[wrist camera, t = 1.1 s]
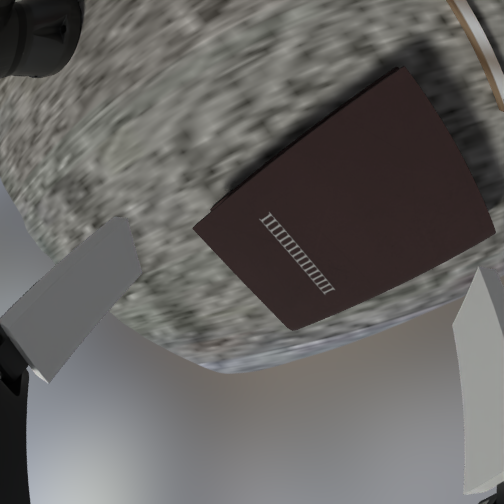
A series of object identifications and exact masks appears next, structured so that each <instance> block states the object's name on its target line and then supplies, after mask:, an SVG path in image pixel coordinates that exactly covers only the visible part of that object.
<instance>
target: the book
mask: <svg viewBox="0 0 504 504" xmlns="http://www.w3.org/2000/svg"><path fill="white" fill-rule="evenodd" d="M210 210H211V212H210V213H209V214H208V215H206V216H205V217H204V218H203V219H202V220H201V221H199V222H198V223H197V224H196V225H195V226H194V227H193V228H192V229H193V230H194V231H195V232H196V233H197V234H198V235H199V236H200V237H201V238H202V239H203V240H204V241H205V242H206V244H207V245H208V246H209V247H210V248H211V249H212V250H213V251H214V252H215V253H216V254H217V255H218V256H219V257H220V258H221V259H222V260H223V262H224V263H225V264H226V265H227V266H228V267H229V268H230V269H231V270H232V271H233V272H234V273H235V274H236V275H237V276H238V277H239V278H240V279H241V280H242V281H243V283H244V284H245V285H246V286H247V287H248V288H249V289H250V290H251V291H252V292H253V293H254V294H255V295H256V296H257V297H258V298H259V299H260V300H261V301H262V302H263V303H264V304H265V305H266V306H267V307H268V308H269V309H270V310H271V311H272V312H273V313H274V315H275V316H276V317H277V318H278V319H279V320H280V321H281V322H282V323H283V324H284V325H285V326H286V327H287V328H289V329H290V330H292V331H293V330H298V329H300V328H303V327H305V326H308V325H310V324H313V323H315V322H318V321H320V320H323V319H325V318H327V317H330V316H332V315H334V314H337V313H339V312H341V311H344V310H346V309H348V308H351V307H353V306H355V305H357V304H360V303H362V302H364V301H366V300H369V299H371V298H373V297H375V296H377V295H379V294H382V293H384V292H386V291H388V290H390V289H392V288H394V287H396V286H398V285H400V284H403V283H405V282H407V281H409V280H411V279H413V278H415V277H417V276H419V275H421V274H423V273H425V272H427V271H429V270H430V269H432V268H434V267H436V266H438V265H440V264H442V263H444V262H446V261H448V260H449V259H451V258H453V257H455V256H457V255H459V254H460V253H462V252H464V251H466V250H468V249H469V248H471V247H473V246H475V245H477V244H478V243H480V242H482V241H484V240H485V239H487V238H489V237H490V236H492V235H494V234H495V233H496V231H495V228H494V225H493V222H492V220H491V217H490V215H489V212H488V210H487V208H486V205H485V203H484V200H483V198H482V196H481V194H480V191H479V189H478V187H477V185H476V183H475V181H474V179H473V177H472V174H471V172H470V170H469V168H468V166H467V164H466V162H465V161H464V159H463V157H462V155H461V153H460V151H459V149H458V147H457V146H456V144H455V142H454V140H453V138H452V137H451V135H450V133H449V132H448V130H447V128H446V126H445V125H444V123H443V122H442V120H441V118H440V117H439V115H438V113H437V112H436V110H435V109H434V107H433V106H432V104H431V103H430V101H429V100H428V98H427V97H426V95H425V94H424V92H423V91H422V89H421V88H420V87H419V85H418V84H417V82H416V81H415V80H414V78H413V77H412V75H411V74H410V73H409V71H408V70H407V69H406V67H405V66H403V67H401V68H400V69H399V68H398V67H396V68H394V69H393V70H391V71H390V72H388V73H387V74H385V75H384V76H382V77H381V78H379V79H378V80H376V81H375V82H374V83H372V84H371V85H369V86H368V87H366V88H365V89H364V90H362V91H361V92H359V93H358V94H357V95H355V96H354V97H352V98H351V99H350V100H348V101H347V102H345V103H344V104H343V105H341V106H340V107H339V108H337V109H336V110H334V111H333V112H332V113H330V114H329V115H328V116H326V117H325V118H324V119H322V120H321V121H320V122H318V123H317V124H316V125H314V126H313V127H312V128H310V129H309V130H308V131H306V132H305V133H304V134H302V135H301V136H300V137H299V138H297V139H296V140H295V141H293V142H292V143H291V144H290V145H288V146H287V147H286V148H284V149H283V150H282V151H281V152H279V153H278V154H277V155H275V156H274V157H273V158H272V159H270V160H269V161H268V162H267V163H265V164H264V165H263V166H262V167H260V168H259V169H258V170H257V171H255V172H254V173H253V174H252V175H251V176H249V177H248V178H247V179H246V180H244V181H243V182H242V183H241V184H240V185H238V186H237V187H236V188H235V189H234V190H232V191H231V192H230V193H229V194H228V195H226V196H225V197H224V198H223V199H222V200H220V201H219V202H218V203H217V204H216V205H214V206H213V207H212V208H211V209H210Z"/></svg>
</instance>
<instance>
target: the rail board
mask: <svg viewBox="0 0 504 504" xmlns="http://www.w3.org/2000/svg"><path fill="white" fill-rule="evenodd" d="M446 1H447V2H448V4H449V5H450V7H451V9H452V10H453V12H454V14H455V15H456V17H457V19H458V20H459V22H460V24H461V26H462V27H463V29H464V31H465V33H466V35H467V37H468V39H469V41H470V42H471V44H472V46H473V48H474V50H475V52H476V54H477V57H478V59H479V61H480V63H481V65H482V67H483V70H484V72H485V74H486V76H487V79H488V81H489V84H490V86H491V89H492V91H493V94H494V96H495V99H496V102H497V104H498V107H499V110H501V111H503V112H504V74H503V72H502V70H501V67H500V65H499V63H498V60H497V58H496V56H495V54H494V52H493V49H492V47H491V45H490V43H489V41H488V39H487V37H486V35H485V33H484V31H483V29H482V28H481V26H480V24H479V22H478V20H477V18H476V17H475V15H474V13H473V11H472V10H471V8H470V6H469V5H468V3H467V1H466V0H446Z"/></svg>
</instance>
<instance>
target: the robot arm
mask: <svg viewBox="0 0 504 504" xmlns="http://www.w3.org/2000/svg"><path fill="white" fill-rule="evenodd" d="M80 26H81V12H80V7H79V3H78V1H77V0H21V1H19V2H15V0H0V78H3V77H7V76H11V75H13V76H29V77H32V78H43V77H47V76H51V75H54V74H56V73H58V72H59V71H60V70H62V69H63V68H64V66H65V65H66V64H67V63H68V61H69V60H70V58H71V56H72V54H73V52H74V50H75V47H76V45H77V41H78V38H79V33H80ZM141 274H142V269H141V266H140V262H139V259H138V255H137V252H136V248H135V244H134V241H133V237H132V233H131V229H130V225H129V221H128V218H121V217H113V218H112V219H111V220H109V221H108V222H107V223H106V224H104V225H103V226H102V227H101V228H99V229H98V230H97V231H96V232H94V233H93V234H92V235H91V236H89V237H88V238H87V239H86V240H85V241H83V242H82V243H81V244H80V245H79V246H77V247H76V248H75V249H74V250H73V251H72V252H70V253H69V254H68V255H67V256H66V257H65V258H64V259H62V260H61V261H60V262H59V263H58V264H57V265H56V266H54V267H53V268H52V269H51V270H50V271H49V272H48V273H47V274H46V275H45V276H44V277H42V278H41V280H39V281H38V282H36V283H35V284H34V285H33V286H32V287H31V288H30V290H28V291H27V292H26V293H25V294H24V295H23V296H22V297H21V298H20V299H19V300H18V301H17V302H16V303H15V304H14V305H13V306H12V307H11V308H10V309H9V310H8V311H7V312H6V313H5V314H4V315H3V316H2V317H1V318H0V504H30V496H29V486H28V473H27V455H26V453H27V452H26V418H27V396H28V383H29V373H28V371H27V369H26V368H27V367H28V365H29V366H30V367H31V369H32V370H33V371H34V373H35V374H36V375H37V376H38V377H40V378H41V379H43V380H44V381H46V382H47V383H50V382H51V381H52V379H53V378H54V377H55V375H56V374H57V373H58V372H59V370H60V369H61V368H62V367H63V365H64V364H65V363H66V362H67V360H68V359H69V358H70V357H71V355H72V354H73V353H74V352H75V350H76V349H77V348H78V347H79V345H80V344H81V343H82V342H83V341H84V339H85V338H86V337H87V336H88V335H89V333H90V332H91V331H92V330H93V329H94V327H95V326H96V325H97V324H98V323H99V321H100V320H101V319H102V318H103V317H104V316H105V314H106V313H107V312H108V311H109V310H110V309H111V308H112V306H113V305H114V304H115V303H116V302H117V301H118V300H119V298H120V297H121V296H122V295H123V294H124V293H125V292H126V290H127V289H128V288H129V287H130V286H131V285H132V284H133V283H134V281H135V280H136V279H137V278H138V277H139V276H140V275H141ZM452 326H453V331H454V337H455V343H456V349H457V355H458V363H459V371H460V379H461V388H462V399H463V412H464V431H465V432H464V433H465V472H464V492H463V495H466V494H475V493H483V492H486V491H488V490H490V489H491V488H493V487H495V486H497V493H496V494H494V495H492V496H490V497H488V498H486V499H484V500H482V501H481V502H479V504H504V286H503V284H502V282H501V280H500V277H499V275H498V273H497V271H496V269H491V268H485V267H479V266H478V269H477V271H476V274H475V276H474V279H473V281H472V283H471V286H470V288H469V290H468V293H467V295H466V297H465V299H464V302H463V304H462V306H461V308H460V310H459V312H458V314H457V317H456V319H455V321H454V323H453V325H452Z"/></svg>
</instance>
